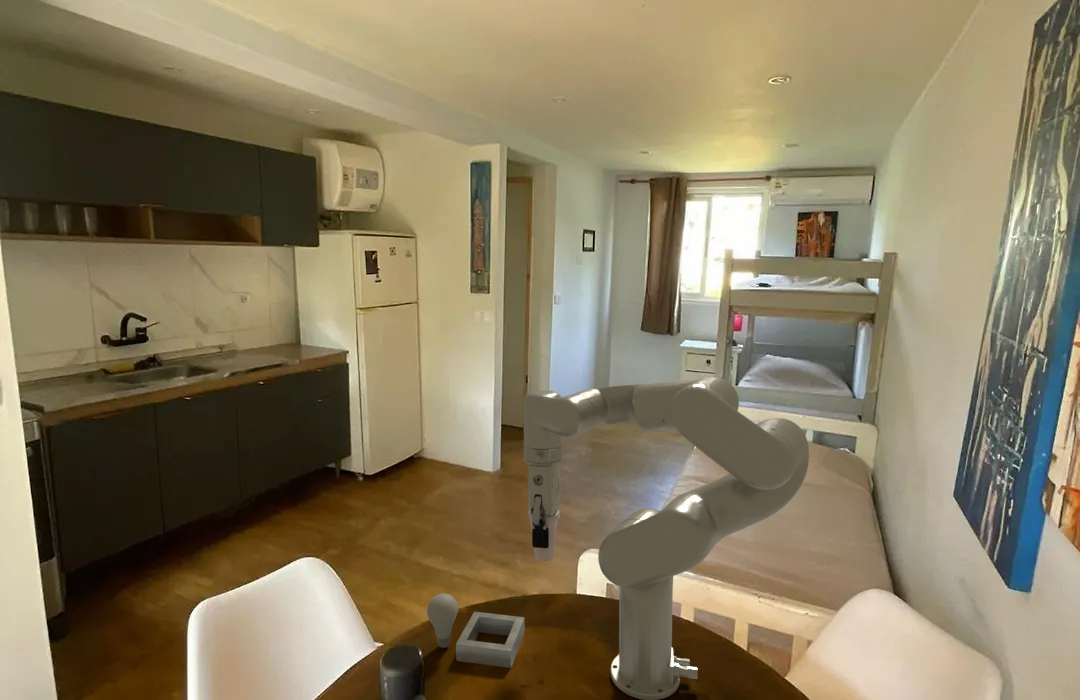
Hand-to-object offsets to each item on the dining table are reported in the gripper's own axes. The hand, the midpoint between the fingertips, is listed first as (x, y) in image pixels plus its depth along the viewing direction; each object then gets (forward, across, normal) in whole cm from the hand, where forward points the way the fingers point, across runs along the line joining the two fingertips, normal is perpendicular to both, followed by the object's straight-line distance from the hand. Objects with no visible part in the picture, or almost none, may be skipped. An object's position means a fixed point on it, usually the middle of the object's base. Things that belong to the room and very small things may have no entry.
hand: (544, 538), depth 113 cm
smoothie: (+4, 0, 0) cm, 4 cm away
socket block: (+22, -5, +10) cm, 24 cm away
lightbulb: (+22, -7, +20) cm, 30 cm away
